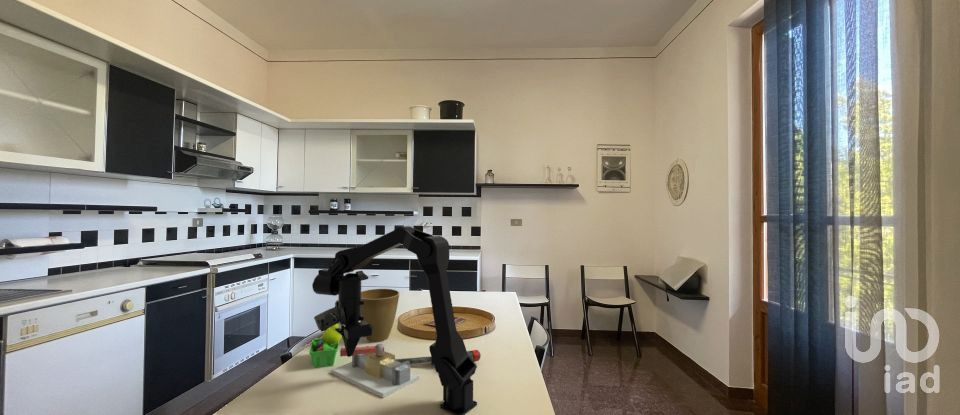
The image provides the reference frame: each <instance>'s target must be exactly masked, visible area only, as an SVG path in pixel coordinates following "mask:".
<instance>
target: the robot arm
mask: <svg viewBox="0 0 960 415" xmlns="http://www.w3.org/2000/svg"><path fill="white" fill-rule="evenodd" d="M399 246H403V247H404V248H405V249H406V250H407V251H408V252H411V253H413V254H415V255H416V258H417V261H418V265H419V266H420V268H421V270H422V271H423V272H424V274H425V275H426V280H427V284H428V292H429V297H430V304H431V309H432V314H433V315H432V316H433V321H434V326H435V327H434V328H435V334H436V337H435V342H433V343H432V344H430V345H429V348H428V349H429V353H430V357H432V361H431V362H430V364H431V365H432V364H433V363H434V366H433V367H434V370H435V372H436V373H437V375H438V378H439V381H440V384H441V386H442V390H443V391H442V400H443V402H442V403H440V404H439V408H440V409H442V410H444V411H447V412H448V413H451V414H454V415H465V414H467V413H468V412H469V411H470V410H472V409H474V407H476V406H478V402H477V401H476V400H474V380H473V379H471V377H473V375H475V373H476V371H477V368H478V366H477V364H476V363H475V362H473V360H472V359H471V358H470V357H469V356H468V354H467V350H468V349H467V348H466V345H465V341H464V339H463V338H462V336H461V335H460V334H459V332H458V330H457V325H456V320H455V315H454V309H453V308H454V307H453V303H452V297H451V291H450V290H451V289H450V283H449V278H448V274H447V273H448V272H447V271H448V268H449V267H448V266H449V262H450V244H449V241H448V240H447V239H446V238H445V237H444V236H442V235H433V234H432V233H431V234H430V233H429V232H428V233H427V232H424V231H423V230H422V231H421V230H418V229H416V228H414V227H412V226H409V225H405V226H398V227H396V228H395V229H394V230H392V231H390V232H388V233H385V234H383V235H382V236H379V237H377V238H375V239H373V240H370V241H369V242H366V243H365V244H363V245H359V246H355V247H350V248H345V249H342V250H339V251H337V252H336V253H335V254H334V259H333V260H332V262H331V264H330V266H329V268H328V269H327V268H322V269H318V274H317V275H316V276H315V277H314V279H313V281H312V284H311V285H312V286H311V287H312V290H313V291H312V292H314V293H315V294H317V295H325V296H333V297H334V296H337V298H338V299H337V300H336V301H335V302H334V307H331V308H329V309H326V310H325V311H323V312H320V313H319V314H317V315H315V316H314V317H313V320H314V322H315V324H316V327H317V329H318V330H320V332H324V331H325V330H327V329H328V328H330V327H332V326H333V325H335V324H337V323H338V328H336V329H335V330H336V331H337V332H338V333H339V334H340V335H341V336H342V338H341V339H342V340H343V345H344V348H345V349H346V353H347V356H346V357H348V358H350V357H351V358H352V355H353V353H354V351H355V348H356V347H357V345H358V344H359V341H360V340H361V338H364V337H365V338H366V336H371V335H373V326H371V325H370V324H369V323H367V322H366V321H362V320H364V316H362V315H361V305H364V301H363V300H361V292H362V281H366V280H369V276H368V275H367V274H365V273H364V271H363V270H361V269H363V268H364V267H365V266H366V265H368V264H369V263H370V262H371V261H372V260H373V259H374V258H376V257H378V256H380V255H382V254H384V253H387V252H389V251H391V250H393V249H395V248H398V247H399ZM356 270H358V271H356ZM354 271H355V273H354ZM344 274H345V275H344ZM361 321H362V322H361Z"/></svg>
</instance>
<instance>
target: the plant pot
mask: <svg viewBox="0 0 960 415" xmlns="http://www.w3.org/2000/svg"><path fill="white" fill-rule="evenodd" d="M399 299H400V291H399V290H396V289H392V288H372V289H371V288H370V289H365V290H361V300H363V301H364V305H361V315H362V316H364V320H362V321H366V322H367V323H369V324H370V325H371V326H373V335H371V336H366V337H365V338H366V340H367V341H368V342H371V343H378V342H384V341H386V340H388V339H389V337H390V334H391V332H392V329H393V325H394V322H395V320H396V314H397V310H398V304H399ZM362 321H360V322H362Z"/></svg>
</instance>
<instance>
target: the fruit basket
mask: <svg viewBox="0 0 960 415" xmlns="http://www.w3.org/2000/svg"><path fill="white" fill-rule="evenodd" d="M336 328H338V323H337V324H335V325H333V326H332V327H330V328H328V329H327V330H325V331H323V333H322V336H323V337H322V338H320V337H319V338H315V339H313V340H312V342H311V345H310V348H309V351H308V352H309V355H310V356H311V361H312V364H313V367H314V368H315V369H316V368H323V367H329V366H330V367H331V366H334V363H335V359H336V355H337V352H338V349H339V342H341V339H343V338H342V336H341V335H340V334H339V333H338V332H337V331H336V330H335V329H336Z"/></svg>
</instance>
